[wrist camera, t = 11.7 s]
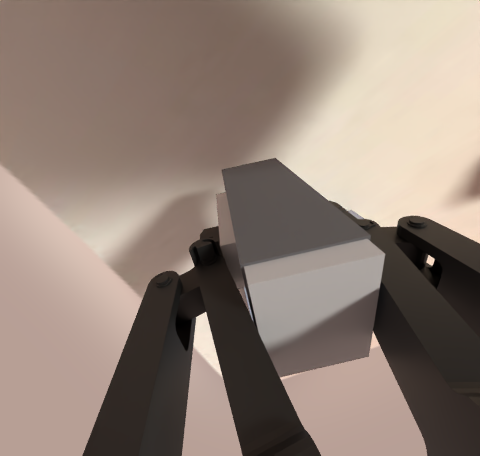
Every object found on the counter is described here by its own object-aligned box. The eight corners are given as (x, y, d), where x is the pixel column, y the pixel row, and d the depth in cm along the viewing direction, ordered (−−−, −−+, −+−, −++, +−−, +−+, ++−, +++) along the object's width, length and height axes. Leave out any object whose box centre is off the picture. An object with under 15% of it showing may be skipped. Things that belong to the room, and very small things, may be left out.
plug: (221, 169, 16) (243, 283, 6) (275, 157, 17) (389, 250, 6) (234, 228, 19) (267, 381, 8) (281, 218, 19) (371, 357, 9)
